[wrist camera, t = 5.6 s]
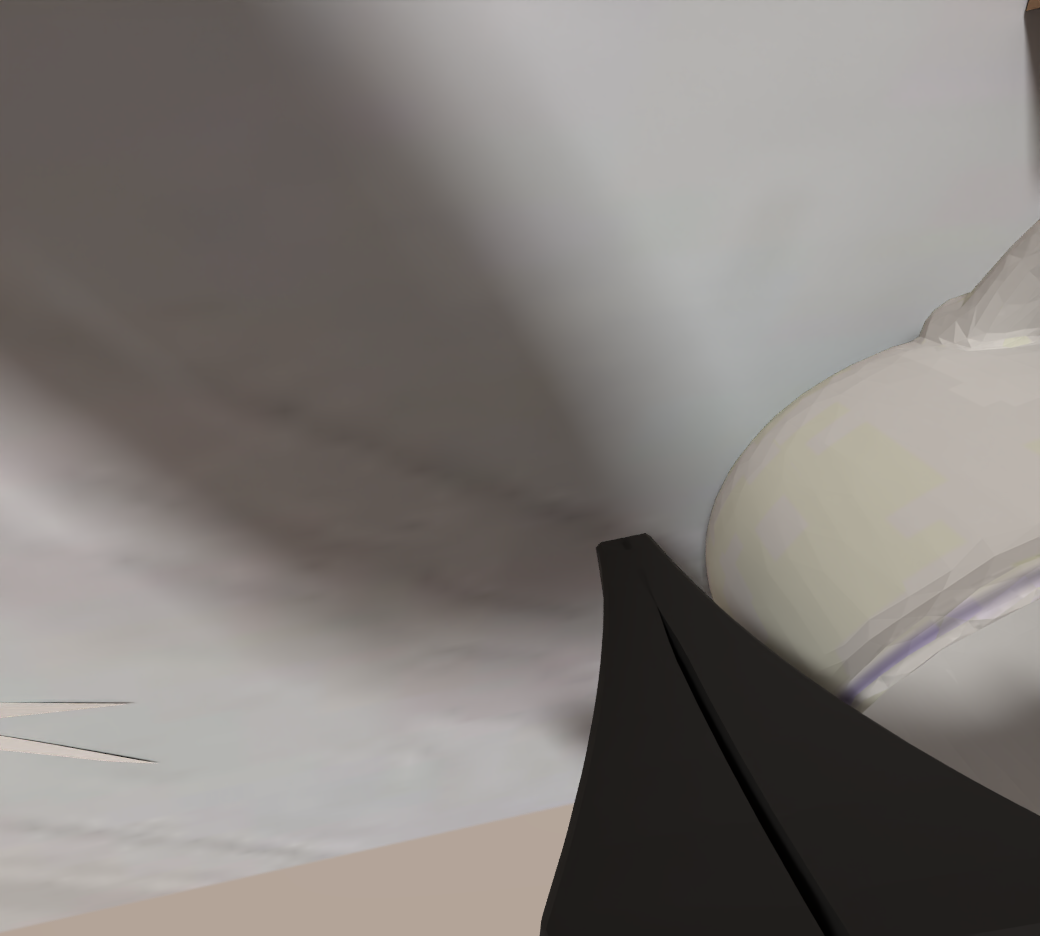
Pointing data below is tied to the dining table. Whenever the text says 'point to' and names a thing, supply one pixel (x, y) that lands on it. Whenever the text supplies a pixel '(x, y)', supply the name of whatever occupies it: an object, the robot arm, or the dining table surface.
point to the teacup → (909, 533)
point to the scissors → (49, 749)
